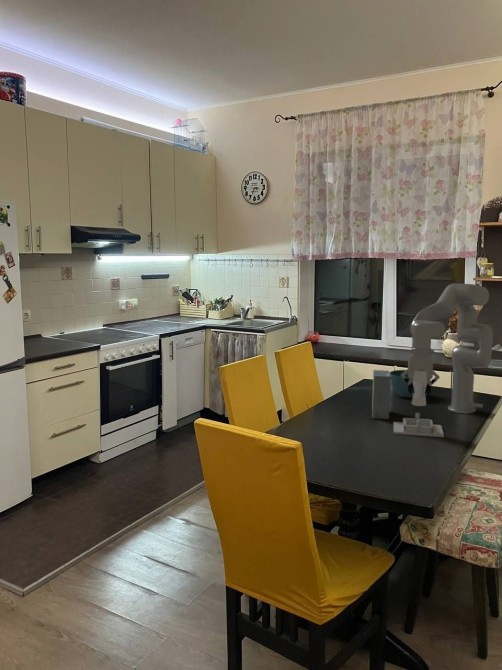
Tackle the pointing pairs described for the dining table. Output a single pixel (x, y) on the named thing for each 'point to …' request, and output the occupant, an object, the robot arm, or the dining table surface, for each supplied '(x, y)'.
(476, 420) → the dining table surface
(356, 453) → the dining table surface
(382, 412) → the hard drive box
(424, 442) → the dining table surface
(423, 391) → the beer glass
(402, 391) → the teal bowl
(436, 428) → the tray
